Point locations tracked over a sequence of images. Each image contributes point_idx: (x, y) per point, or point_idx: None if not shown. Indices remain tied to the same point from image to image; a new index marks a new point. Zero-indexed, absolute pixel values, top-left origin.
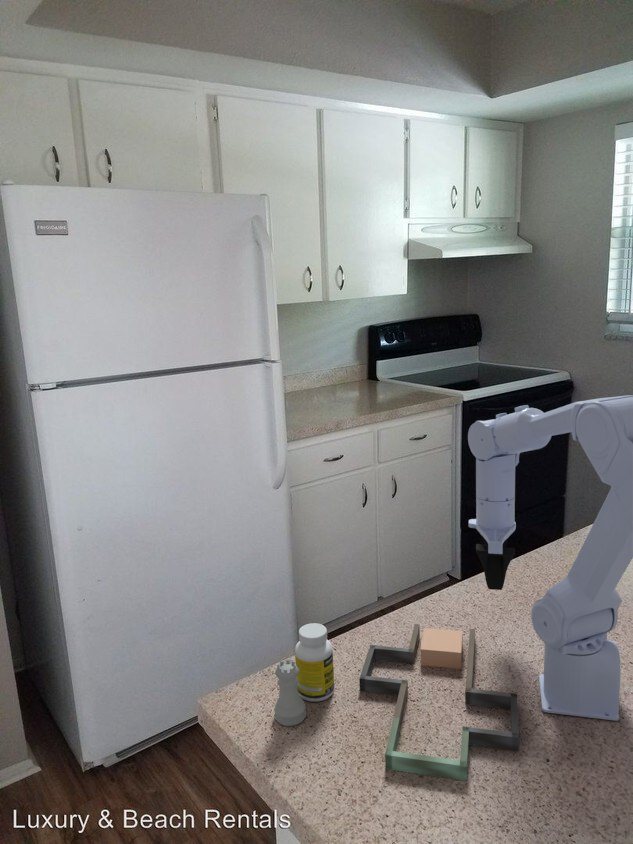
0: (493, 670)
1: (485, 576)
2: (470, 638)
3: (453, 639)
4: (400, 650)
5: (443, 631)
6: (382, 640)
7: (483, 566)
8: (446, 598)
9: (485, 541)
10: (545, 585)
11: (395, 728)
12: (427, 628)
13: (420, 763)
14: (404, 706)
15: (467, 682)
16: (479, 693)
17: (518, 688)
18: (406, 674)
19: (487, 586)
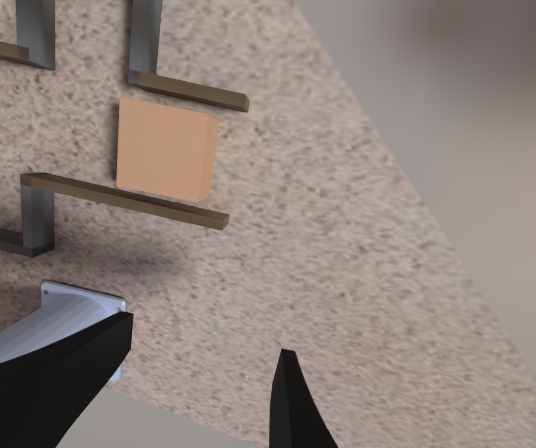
0: (139, 236)
1: (75, 333)
2: (187, 214)
3: (163, 177)
4: (131, 49)
5: (193, 160)
6: (228, 16)
7: (1, 362)
8: (402, 194)
9: (288, 442)
10: (419, 393)
11: None
12: (205, 122)
13: None
14: (3, 58)
15: (45, 182)
16: (22, 198)
17: (97, 262)
18: (109, 71)
19: (116, 313)
